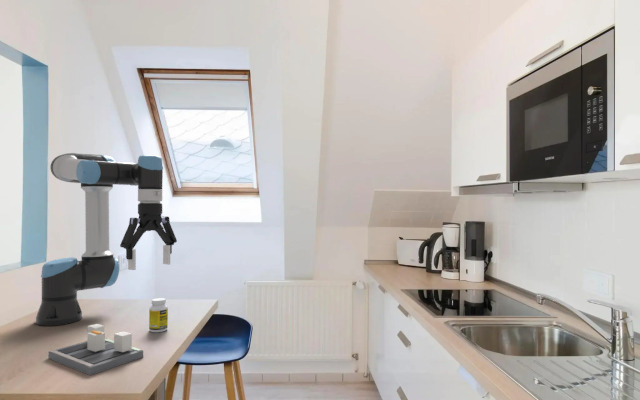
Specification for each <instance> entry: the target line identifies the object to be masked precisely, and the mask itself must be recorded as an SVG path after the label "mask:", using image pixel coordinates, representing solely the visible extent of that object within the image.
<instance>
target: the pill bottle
mask: <svg viewBox="0 0 640 400" xmlns="http://www.w3.org/2000/svg"><path fill="white" fill-rule="evenodd" d="M166 299H167V298H165V297H157V298H152V300H151V305H150V307H149V310H148V311H149V316H148V321H149V323H148V324H149V325H148V326H149V328H148V330H149V332H151V333H162V332H165V331H167V330H168V327H169V325H168V322H169V321H168V320H169V317H168V315H169V313H168V312H169V308H168V305H167V304H166V303H167V302H166Z"/></svg>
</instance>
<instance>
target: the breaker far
mask: <svg viewBox="0 0 640 400" xmlns="http://www.w3.org/2000/svg"><path fill="white" fill-rule="evenodd" d="M93 330H95V331H100V332H104V333H105V325H104V324H103V325H102V324H100V323H95V324H90V325H87V333H90V332H91V331H93Z"/></svg>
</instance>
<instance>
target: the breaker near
mask: <svg viewBox="0 0 640 400" xmlns="http://www.w3.org/2000/svg"><path fill="white" fill-rule="evenodd" d="M132 336H133V335H132V333H130V332H128V331H120V332H116V333H114V334H113V341H114V350H116V351H119V352H125V351H128V350H131V349H132V347H133V346H132V344H133V343H132Z"/></svg>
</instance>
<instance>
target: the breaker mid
mask: <svg viewBox="0 0 640 400" xmlns="http://www.w3.org/2000/svg"><path fill="white" fill-rule="evenodd" d="M86 337H87V340H86V341H87V349H88V350H91V351H94V352H96V351H99V350H103V349H105V338H106V332H105V331H104V332H100V331H95V330H93V331H91V332H90V333H88V332H87V336H86Z"/></svg>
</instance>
